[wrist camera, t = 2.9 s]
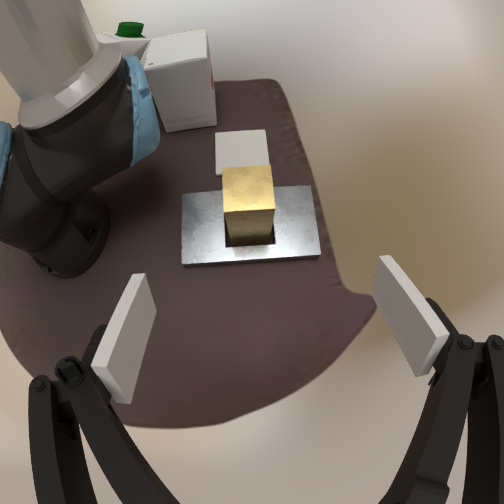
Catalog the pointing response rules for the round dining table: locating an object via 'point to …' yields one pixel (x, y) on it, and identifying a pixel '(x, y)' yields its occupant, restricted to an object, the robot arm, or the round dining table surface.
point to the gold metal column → (248, 204)
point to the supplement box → (182, 80)
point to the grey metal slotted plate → (215, 252)
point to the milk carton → (126, 39)
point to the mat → (240, 149)
